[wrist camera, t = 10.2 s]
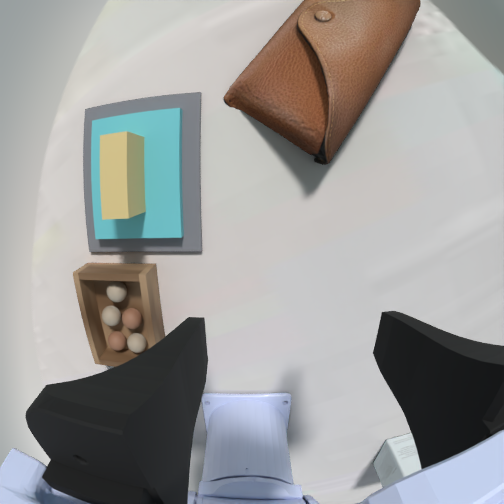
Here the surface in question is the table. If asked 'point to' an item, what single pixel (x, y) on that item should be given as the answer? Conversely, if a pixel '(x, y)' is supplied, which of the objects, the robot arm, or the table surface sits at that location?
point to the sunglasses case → (322, 70)
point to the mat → (189, 173)
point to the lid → (137, 175)
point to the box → (119, 309)
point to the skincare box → (397, 459)
